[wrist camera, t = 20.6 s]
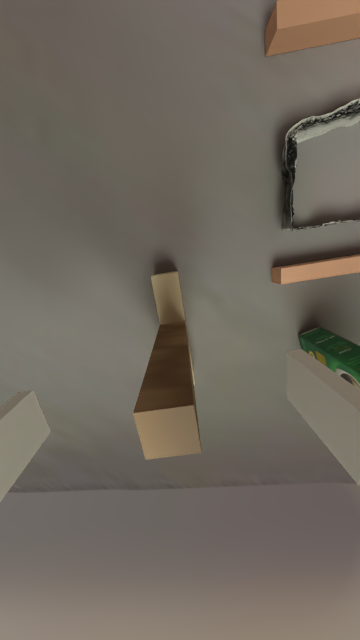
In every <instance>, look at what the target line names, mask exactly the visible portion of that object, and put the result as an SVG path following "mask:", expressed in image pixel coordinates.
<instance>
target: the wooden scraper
mask: <svg viewBox="0 0 360 640" xmlns="http://www.w3.org/2000/svg"><path fill="white" fill-rule="evenodd" d="M151 280H152V286H153V291H154V296H155V301H156V306H157V312H158V317H159V322H160V327H159V330H158V334H157V337H156V340H155V343H154V347H153V350H152V353H151V357H150V360H149V363H148V366H147V370H146V373H145V376H144V380H143V383H142V386H141V389H140V393H139V396H138V399H137V403H136V406H135V409H134V412H133V414H134V418H135V422H136V426H137V429H138V433H139V437H140V441H141V444H142V448H143V452H144V456H145V459H146V460H147V459H155V458H163V457H171V456H179V455H187V454H195V453H202V452H201V444H200V435H199V427H198V418H197V410H196V401H195V393H194V385H195V380H194V372H193V366H192V359H191V353H190V346H189V340H188V333H187V327H186V320H185V314H184V307H183V301H182V295H181V288H180V282H179V275H178V271H173V272H166V273H160V274H154V275H152V276H151Z"/></svg>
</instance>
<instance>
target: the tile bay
mask: <svg viewBox="0 0 360 640" xmlns="http://www.w3.org/2000/svg"><path fill="white" fill-rule="evenodd" d="M357 38H360V0H278V1H276V4H275V6H274V9H273V12H272V15H271V17H270V20H269V23H268V25H267V28H266V31H265V52H266V56H271V55H276V54H281V53H286V52H291V51H296V50H301V49H306V48H312V47H317V46H322V45H327V44H332V43H337V42H342V41H347V40H352V39H357ZM357 272H360V254H357V255H351V256H344V257H338V258H332V259H326V260H319V261H313V262H307V263H300V264H294V265H288V266H281V267H275V268H272V282H273V283H278V284H286V283H293V282H299V281H306V280H312V279H318V278H325V277H331V276H338V275H344V274H351V273H357Z"/></svg>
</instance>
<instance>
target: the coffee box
mask: <svg viewBox="0 0 360 640" xmlns="http://www.w3.org/2000/svg"><path fill="white" fill-rule="evenodd" d="M299 339H300V342H301V347H302V350H303V351H305V352H306V353H308V354H309V355H311V356H312V357H313V358H315V359H316V360H318V361H319V362H321V363H322V364H323V365H325V366H326V367H328V368H329V369H331V370H332V371H333V372H335V373H336V374H338V375H339V376H341V377H342V378H343V379H345V380H346V381H348V382H349V383H351V384H352V385H353V386H355V387H356V388H358V389H359V390H360V346H358V345H356V344H354V343H352V342H350V341H348V340H346V339H344V338H342V337H340V336H338V335H336V334H334V333H332V332H329V331H327V330H325V329H323V328H321V327H318V328H315V329H312V330H309V331H307V332H304V333H302V334H301V335H299Z"/></svg>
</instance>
